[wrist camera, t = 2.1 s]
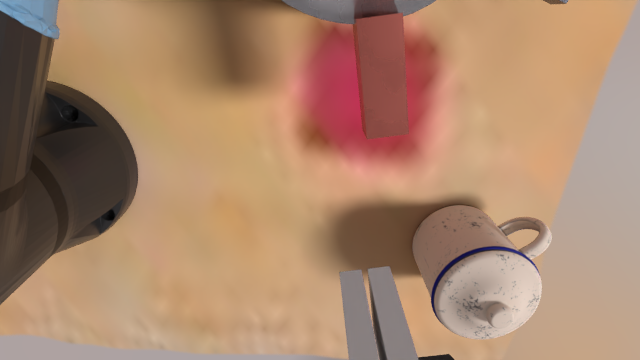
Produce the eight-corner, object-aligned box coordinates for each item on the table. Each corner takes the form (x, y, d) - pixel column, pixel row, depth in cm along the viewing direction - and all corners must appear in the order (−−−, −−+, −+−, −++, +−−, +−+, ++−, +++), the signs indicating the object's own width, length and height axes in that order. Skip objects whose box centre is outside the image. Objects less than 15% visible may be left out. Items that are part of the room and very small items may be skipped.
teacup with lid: (438, 292, 44) (480, 382, 33) (391, 235, 41) (419, 313, 31) (538, 231, 42) (618, 308, 31) (495, 166, 39) (566, 225, 28)
